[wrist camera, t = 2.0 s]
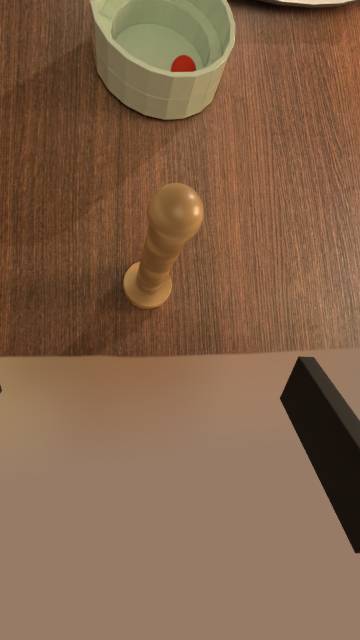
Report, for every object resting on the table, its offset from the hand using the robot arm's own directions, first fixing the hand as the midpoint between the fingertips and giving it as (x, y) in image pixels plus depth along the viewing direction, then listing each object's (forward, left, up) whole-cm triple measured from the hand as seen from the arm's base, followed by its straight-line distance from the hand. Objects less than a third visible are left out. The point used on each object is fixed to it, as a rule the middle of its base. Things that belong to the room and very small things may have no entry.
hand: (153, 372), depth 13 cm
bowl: (-22, +30, -18) cm, 41 cm away
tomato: (-18, +30, -16) cm, 38 cm away
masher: (-5, +8, -18) cm, 20 cm away
